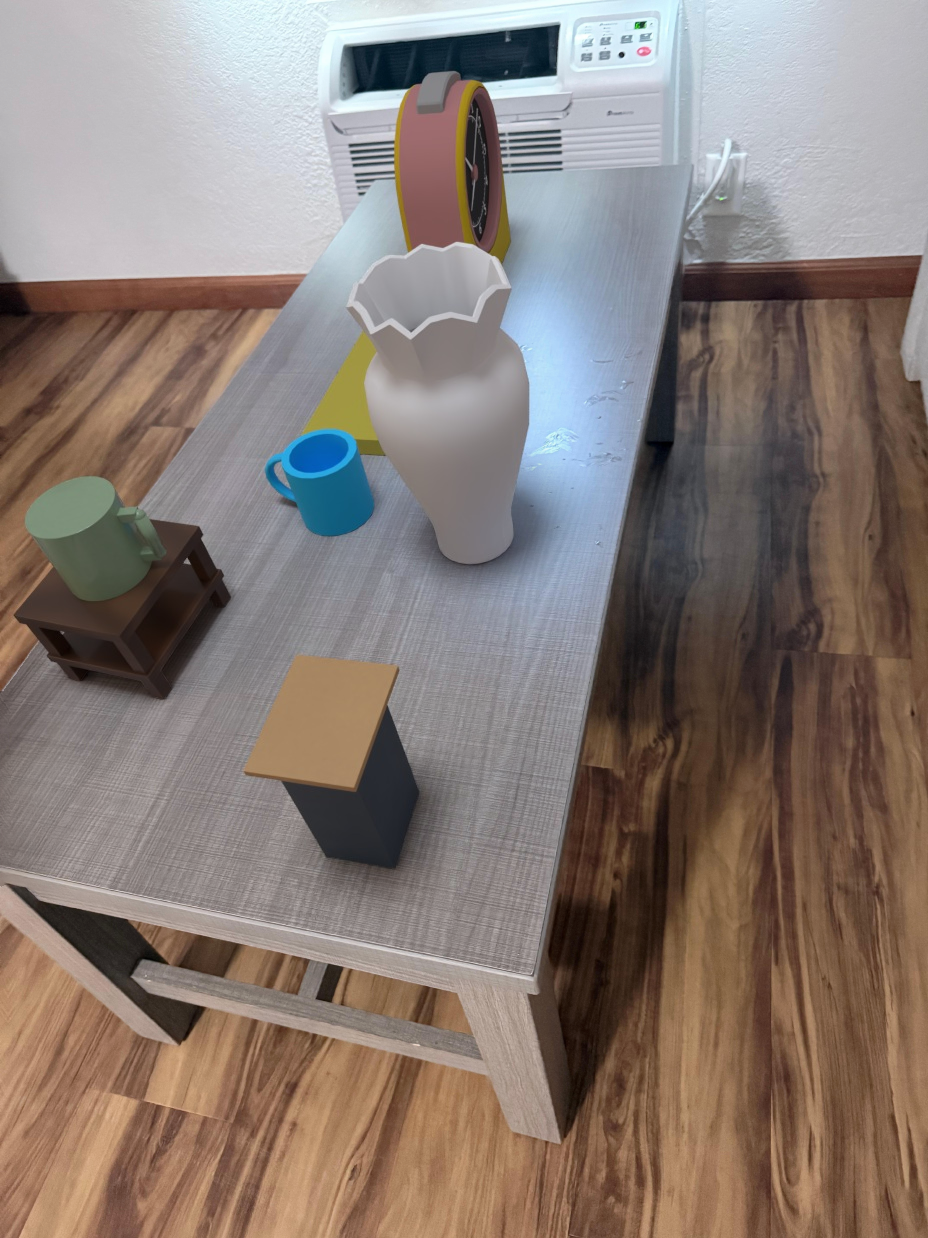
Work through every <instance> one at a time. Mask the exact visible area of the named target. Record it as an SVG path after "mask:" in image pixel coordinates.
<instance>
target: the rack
mask: <svg viewBox="0 0 928 1238" xmlns="http://www.w3.org/2000/svg"><path fill="white" fill-rule="evenodd" d="M149 520H150V521H151V523H152V525H153V527H154V528H155V530H156V532H157V534H158V536H159V537H160V539H161V541H162V543H163V544H164V546H165V548H166V551H167V552H166V555H165V556H164V557H162V559H161V560H157V561H152V564H151V567H150V569H149V571H148V573H147V575H146V576H145V577H144V578H143V579H142V580H141V582H140V583H138V584H137V585H136V586H135V587H133V588H132V589H131V590H129V591H127V592H126V593H124V594H122V595H120V596H117V597H115V598H112V599H108V600H104V601H85V600H82V599H79V598H77V597H76V596H75V595H73V593H72V592H71V591H70V589H69V588H68V587H67V585H66V584H65V582H64V581H63V580H62V578H61V577H60V575H59V574H58V573H57V571H56V570H55V568H54V567H53V566H52V567H51V569H50V570H49V571H48V572H47V573H46V574H45V576H44V577H43V578H42V579H41V581H40V582H39V583H38V585H36V587H35V588H34V589H33V590H32V592H31V593H30V594H29V595H28V596H27V597H26V599H25V600H24V601H23V602H22V603H21V605H20V606H19V607H18V608H17V609H16V611H15V612H14V613H13V614H12V615H13V617H14V618H15V620H16V621H17V622H18V623H19V624H22V625H25V626H26V627H27V628H28V629H29V630H30V632H31V633H32V634H33V635H34V636H35V638H36V639H37V640H38V642H40V644H41V645H42V647H43V648H44V649H45V650H46V651H47V654H46V655H45V657H47V659H48V660H49V661H50V662H51V663H55V664H57V665H58V666H59V668H60V669H61V670H62V671H63V673H64V674H65V675H66V676H67V678H68V679H69V680H75V681H77V682H78V681H79V682H82V681H83V679H84V678H85V677H86V675H87V674H88V673H89V671H92V672H97V673H103V674H107V675H112V676H116V677H121V678H124V679H125V678H126V679H130V680H135V681H139V682H140V683H142V685H143V686H144V688H145V689H146V690H147V692H148V693H149V695H150V697H152V698H156V699H161V700H165V699H166V698H167V697H168V695H169V693H170V692H171V690H172V688H173V686H172V685H171V684H170V682H169V680H168V679H167V678H166V676H165V675H164V673H163V672H162V669H163V668H164V667H165V665H166V664H167V662H168V661H169V659H170V658H171V656H173V655H172V654H173V653H174V652H175V650H176V649H177V648H178V646H179V645H180V643H181V641H182V640H183V639H184V637H185V636H186V634H187V632H188V631H189V630H190V628H191V626H192V624H194V622H195V620H196V619H197V617H198V616H199V614H200V613H201V611H202V610H203V608H204V607H205V605H206V604H207V603H208V601H209V600H210V602H211V604H212V605H213V606H216V607H217V606H218V607H222V608H226V606H227V605H228V603H229V601H230V600H231V598H232V595H231V594H230V592H229V590H228V588H227V586H226V584H225V582H224V580H223V578H224V577H225V574H224V572H223V570H222V569H221V568H217V567H216V565H215V562H214V560H213V558H212V557H211V554H210V553H209V550H208V549H207V547H206V545H205V544H204V541H203V539H202V538H203V537H204V533H203V531H202V529H201V527H200V525H194V524H188V523H181V522H173V521H166V520H161V519H152V518H149ZM135 524H136V523H135ZM136 526H137V525H136ZM137 528H138V527H137ZM139 531H140V530H139ZM140 533H141V532H140ZM142 536H143V535H142ZM143 538H144V537H143ZM144 540H145V539H144ZM146 543H147V542H146ZM147 545H148V544H147ZM186 560H187V561H188V562H189V563H185V561H186Z"/></svg>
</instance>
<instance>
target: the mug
mask: <svg viewBox="0 0 928 1238" xmlns="http://www.w3.org/2000/svg"><path fill="white" fill-rule="evenodd" d="M278 463H280V465H281V467H282V470H283V472H284V475H285V477H286V480H287V482H288V485H289V486H287V485H285V483H283V482H282V481H281V480H280V479H279V477H278V475H277V474H276V472H275V467H276V465H277V464H278ZM264 473H265V477H266V480H267V481H268V483H269V485H270V486H271V487H272V488H273V489H274V490H275V491H276V492H277V493H278V494H280V495H281V496H283V497H284V498H286V499H287V500H290V501H292V502H294V503H295V504H296V506H297V508H298V511H299V513H300V516H301V519H302V522H303V523H304V525H305V528H307V529H308V530H309V531H310V532H312V534H317V535H319V536H322V537H323V536H325V537H336V536H342V535H345V534H348V533H351V532H353V531H355V530H357V529H358V528H360V527H361V526H362V525H365V524H366V523H367V521H368V520H369V519H370V517H371V516H372V514H373V512H374V509H375V499H374V497H373V493H372V489H371V486H370V484H369V480H368V478H367V473H366V469H365V467H364V464H363V459H362V456H361V454H360V453H359V450H358V446H357V443H356V441H355V439H354V438H353V436H352V435H350V434H349V433H347V432H345V431H342V430H338V429H322V430H317V431H312V432H310V433H307V434H305V435H302V436H301V435H299V437H297V438H295V439H294V440H292V441H291V442H290V443H289V445H287V446H286V447H285V449H284V451H283V452H279V453H275V454H274V455H273V456H271V457H270V458H269V459H268V460H267V462H266V464H265V467H264Z"/></svg>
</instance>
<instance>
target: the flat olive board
mask: <svg viewBox="0 0 928 1238" xmlns="http://www.w3.org/2000/svg"><path fill="white" fill-rule="evenodd" d="M376 352H377V351H376V349H375V347H374V345H373V343H372V342H371V341H370V339H369V338H368V337H367V335H366V334H365V332H364V331H363V330H362V331H361V333H360V334H359V337H358V338H357V340H356V341H355V343H354V345H353V347H352V348H351V349H350V352H349V353H348V355H347V356H346V358H345V360H344V362H343V363H342V365H341V367H340V369H339V370H338V372H337V373H336V375H335V376H334V378H333V380H332V381H331V383H330V385H329V387H328V389H327V391H326V392H325V394H324V395H323V397H322V399H321V400H320V402H319V404H318V405H317V407H316V409H315V411H314V412H313V414H312V415H311V417H310V419H309V421H308V422H307V423H306V425H305V427H304V429H303V430H302V432H301V433H300V436H302V435H305V434H307V433H310V432H312V431H317V430H322V429H338V430H342V431H345V432H347V433H349V434H350V435H352V436H353V438H354V439H355V441H356V443H357V446H358V450H359V453H360V455H369V456H370V455H373V456H386V455H385V453H384V452H383V450H382V448H381V445H380V443H379V441H378V438H377V436H376V433H375V431H374V428H373V426H372V423H371V419H370V415H369V410H368V404H367V398H366V392H365V385H364V381H365V376H366V372H367V369H368V367H369V365H370V362H371V360H372V358H373V357H374V355H375V354H376Z"/></svg>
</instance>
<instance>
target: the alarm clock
mask: <svg viewBox="0 0 928 1238" xmlns="http://www.w3.org/2000/svg"><path fill="white" fill-rule="evenodd" d="M499 133H500V132H499V126H498V120H497V117H496V112H495V108H494V104H493V101H492V98H491V96H490V93H489V90H488V89H487V88H486V86H485V85H484V83H482V82H481V81H479V80H475V79H465V80H462V78H461V74H460V73H459V72H458V71H456V70H449V71H437V72H430V73H427V74H426V75H425V76H424V78H423V79H422V82H421V83H417V84H414V85H412V86H411V87H410V88H408V89H407V91H406V92H405V93H404V95H403V98H402V100H401V102H400V104H399V108H398V113H397V117H396V123H395V133H394V145H393V146H394V149H393V160H394V161H393V167H394V181H395V192H396V198H397V204H398V205H397V206H398V210H399V215H400V220H401V225H402V230H403V235H404V240H405V245H406V250H407V253H409V252H410V251H412V250H413V249H415V248H416V247H418V246H419V245H421V244H424V245H429V246H434V247H439V248H445V247H447V246H449V245H451V244H453V243H455V242H461V243H467V244H473V245H475V246H476V247H478V248H480V249H481V250H483V251H485V252H486V253H488V254H490V255H491V256H495V257H496V258H498V259H499V261H500V263H501V265H502V266H503V262H504V259H505V257H506V254H507V253H508V250H509V247H510V245H511V242H512V239H511V231H510V223H509V222H510V221H509V213H508V204H507V196H506V195H507V194H506V185H505V177H504V169H503V168H504V167H503V159H502V150H501V140H500V134H499Z"/></svg>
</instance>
